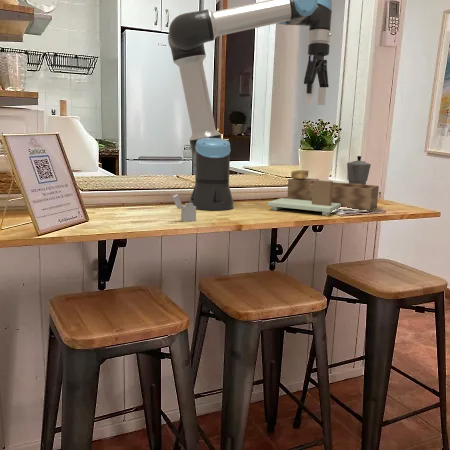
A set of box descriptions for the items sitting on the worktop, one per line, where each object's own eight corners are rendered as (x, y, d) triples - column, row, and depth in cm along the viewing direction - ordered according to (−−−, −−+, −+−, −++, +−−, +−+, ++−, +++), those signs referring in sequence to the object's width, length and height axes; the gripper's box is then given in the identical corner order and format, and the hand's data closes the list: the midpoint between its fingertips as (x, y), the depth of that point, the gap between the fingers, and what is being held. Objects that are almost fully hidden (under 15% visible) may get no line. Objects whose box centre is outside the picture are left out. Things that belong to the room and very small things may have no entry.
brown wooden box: (284, 203, 189) (285, 179, 187) (297, 199, 201) (298, 177, 200) (369, 212, 175) (371, 186, 174) (376, 207, 188) (379, 183, 186)
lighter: (193, 219, 151) (194, 193, 150) (196, 220, 150) (196, 193, 148) (171, 221, 148) (171, 193, 146) (173, 222, 146) (173, 194, 145)
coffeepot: (362, 204, 193) (366, 157, 190) (338, 202, 198) (342, 155, 195) (373, 200, 206) (377, 155, 203) (350, 198, 211) (354, 154, 208)
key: (291, 177, 189) (291, 171, 189) (298, 176, 196) (298, 170, 196) (301, 178, 188) (301, 172, 187) (308, 177, 195) (308, 170, 194)
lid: (267, 210, 173) (268, 178, 171) (281, 205, 185) (283, 176, 183) (329, 217, 164) (331, 183, 162) (340, 211, 176) (342, 180, 174)
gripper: (318, 37, 170) (314, 102, 174) (338, 48, 192) (335, 105, 196) (296, 38, 174) (293, 102, 178) (319, 49, 195) (316, 105, 199)
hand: (315, 104), depth 187 cm, fingers open, 13 cm apart
